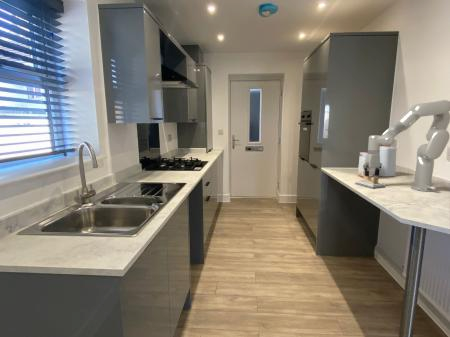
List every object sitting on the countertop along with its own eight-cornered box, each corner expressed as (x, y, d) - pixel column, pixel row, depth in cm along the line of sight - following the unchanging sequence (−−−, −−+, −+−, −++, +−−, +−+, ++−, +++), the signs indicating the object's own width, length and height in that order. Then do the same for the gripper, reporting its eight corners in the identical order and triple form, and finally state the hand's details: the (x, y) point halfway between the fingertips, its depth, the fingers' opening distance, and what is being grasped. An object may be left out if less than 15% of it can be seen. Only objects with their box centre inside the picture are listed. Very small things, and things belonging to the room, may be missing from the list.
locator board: (385, 187, 186) (386, 183, 186) (371, 188, 182) (372, 185, 182) (368, 182, 200) (368, 179, 200) (355, 184, 196) (355, 180, 196)
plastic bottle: (383, 177, 219) (387, 144, 214) (369, 174, 234) (372, 143, 229) (397, 176, 223) (401, 144, 218) (382, 173, 238) (386, 142, 232)
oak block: (367, 182, 196) (368, 175, 195) (377, 185, 188) (378, 177, 187) (362, 183, 194) (363, 175, 193) (373, 185, 186) (373, 177, 185)
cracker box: (372, 179, 212) (375, 154, 208) (365, 179, 212) (368, 154, 208) (364, 175, 226) (366, 152, 222) (357, 175, 226) (359, 152, 222)
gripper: (378, 151, 193) (376, 173, 196) (360, 152, 187) (358, 175, 190) (387, 152, 186) (385, 175, 189) (368, 153, 180) (367, 177, 183)
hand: (371, 175), depth 190 cm, fingers open, 9 cm apart
